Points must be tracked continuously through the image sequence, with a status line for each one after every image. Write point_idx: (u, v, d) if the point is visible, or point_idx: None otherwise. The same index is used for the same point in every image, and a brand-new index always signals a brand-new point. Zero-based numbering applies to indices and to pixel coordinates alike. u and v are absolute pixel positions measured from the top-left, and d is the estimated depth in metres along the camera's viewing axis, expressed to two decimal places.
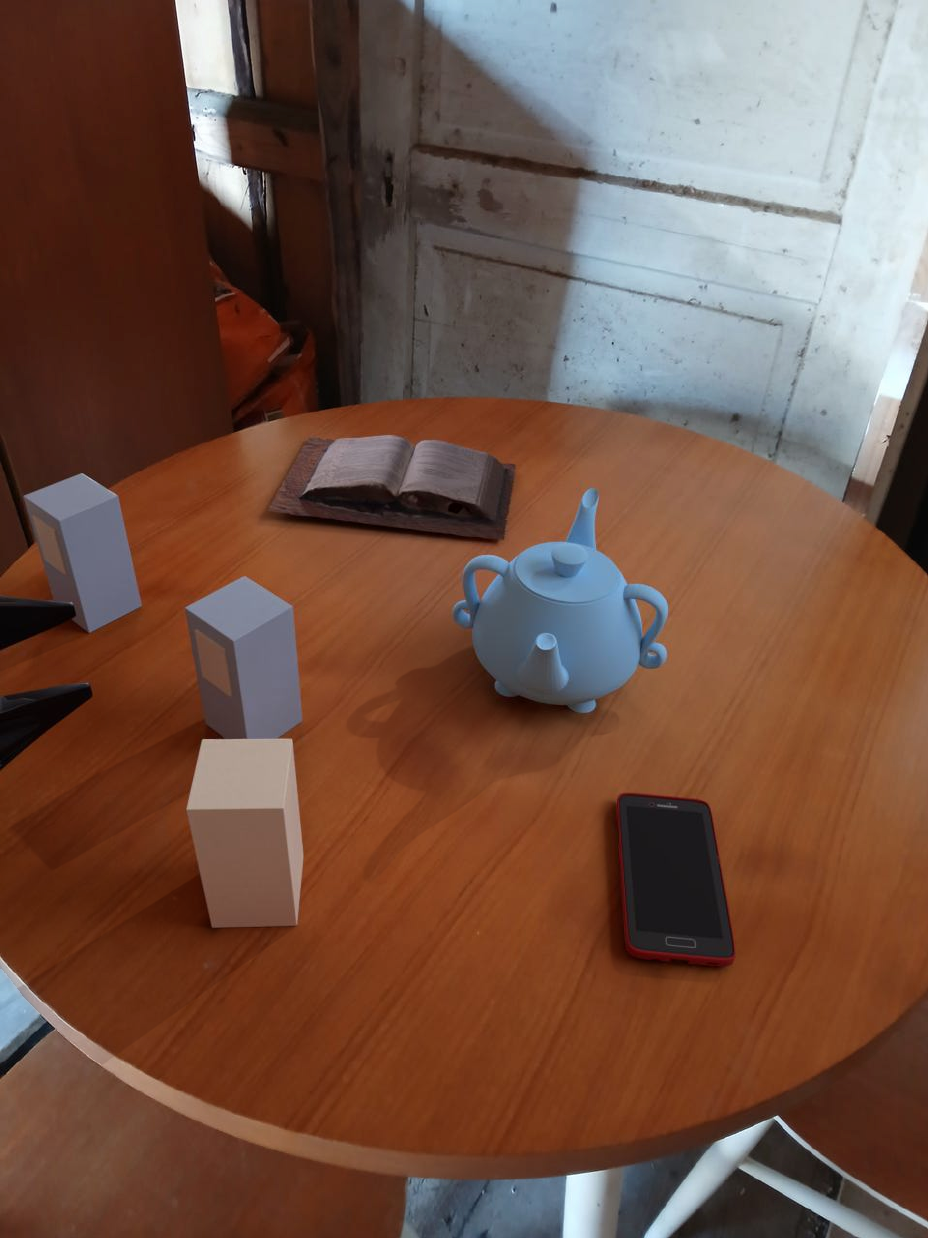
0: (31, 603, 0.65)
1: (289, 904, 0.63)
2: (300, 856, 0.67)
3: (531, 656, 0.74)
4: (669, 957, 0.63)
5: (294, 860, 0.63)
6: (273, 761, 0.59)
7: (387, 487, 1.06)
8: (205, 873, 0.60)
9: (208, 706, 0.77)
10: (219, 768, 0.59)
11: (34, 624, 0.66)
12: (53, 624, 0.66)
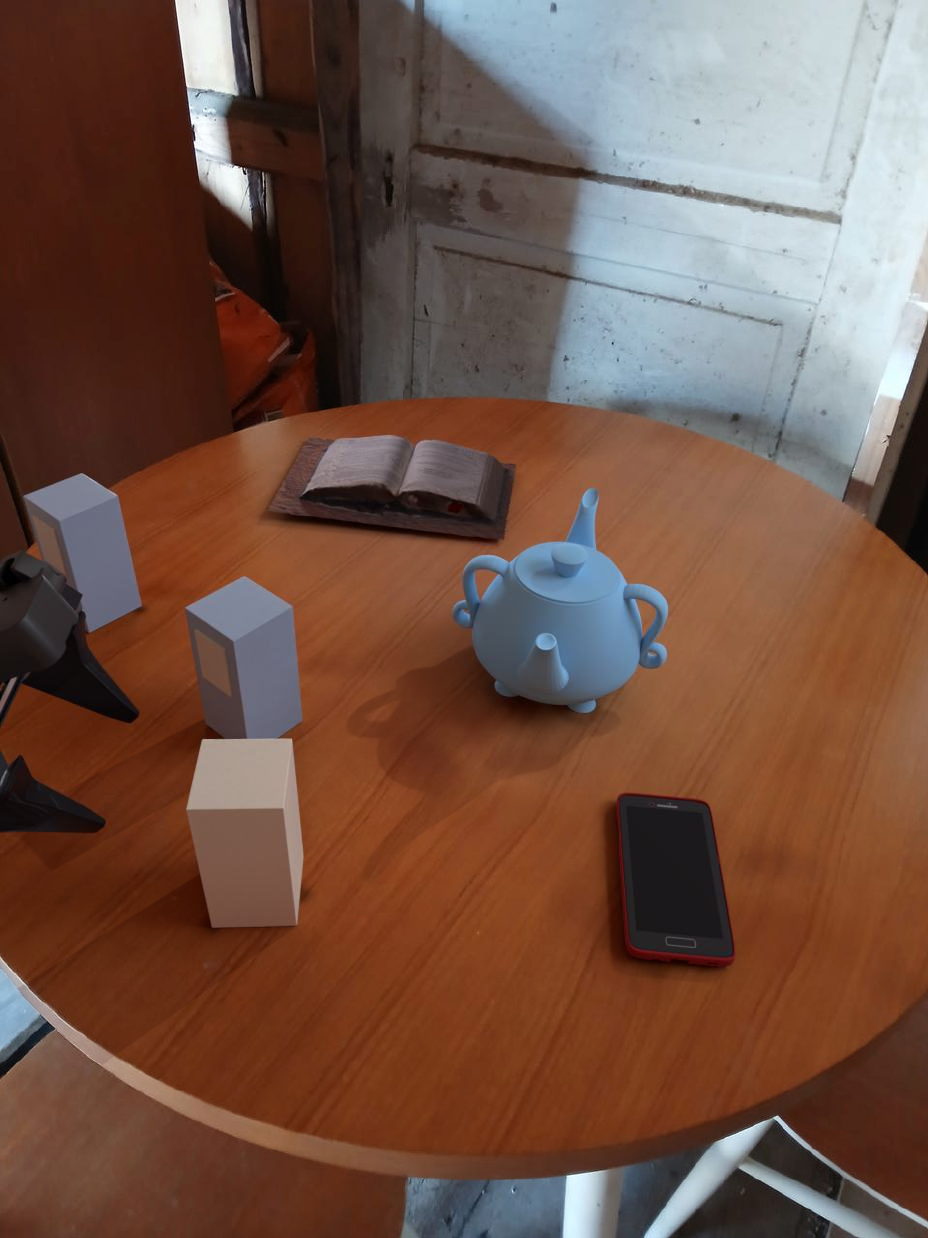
0: (111, 686, 0.60)
1: (289, 904, 0.63)
2: (300, 856, 0.67)
3: (531, 656, 0.74)
4: (669, 957, 0.63)
5: (294, 860, 0.63)
6: (273, 761, 0.59)
7: (387, 487, 1.06)
8: (205, 873, 0.60)
9: (208, 706, 0.77)
10: (219, 768, 0.59)
11: (93, 701, 0.60)
12: (106, 714, 0.61)
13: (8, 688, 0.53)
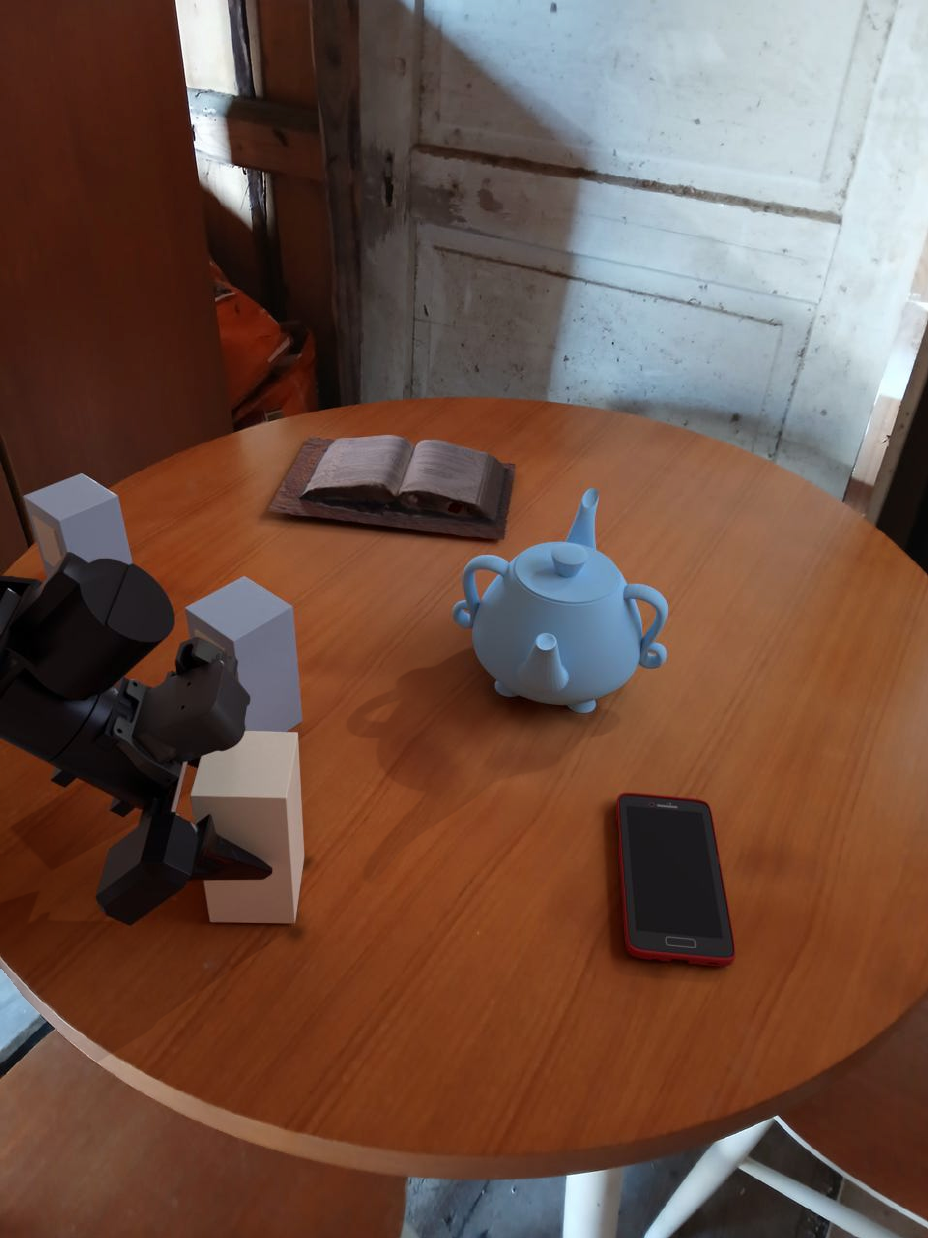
0: None
1: (288, 900, 0.63)
2: (301, 854, 0.67)
3: (531, 656, 0.73)
4: (669, 957, 0.63)
5: (295, 855, 0.63)
6: (278, 753, 0.60)
7: (387, 487, 1.06)
8: None
9: None
10: (224, 758, 0.59)
11: None
12: None
13: None
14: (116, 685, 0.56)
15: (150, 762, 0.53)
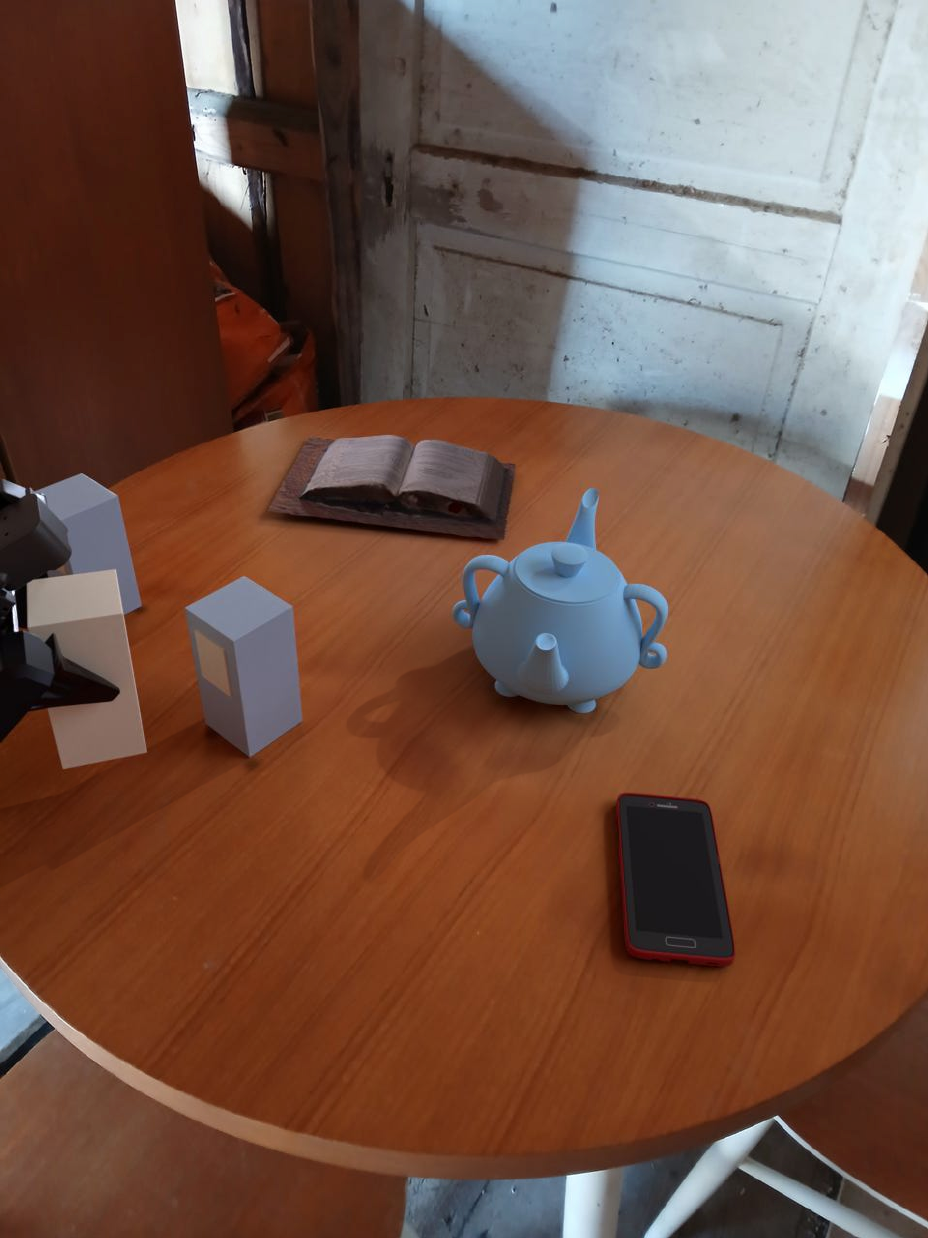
0: None
1: (137, 727, 0.68)
2: None
3: (531, 656, 0.73)
4: (669, 957, 0.63)
5: None
6: (102, 585, 0.64)
7: (387, 487, 1.06)
8: None
9: (208, 706, 0.77)
10: (50, 596, 0.63)
11: None
12: None
13: (12, 591, 0.61)
14: None
15: None
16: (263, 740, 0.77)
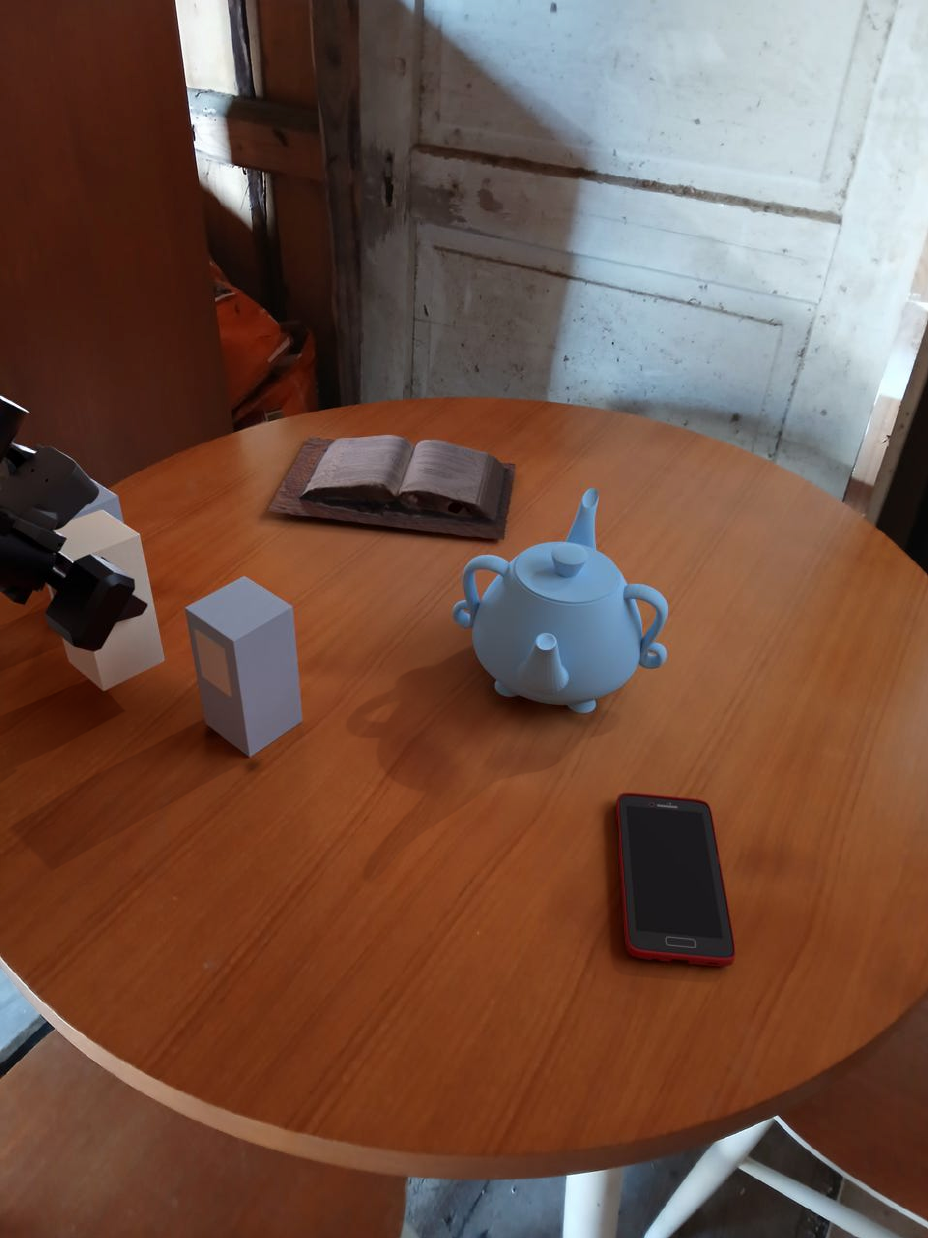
0: None
1: (156, 638, 0.79)
2: None
3: (531, 656, 0.73)
4: (669, 957, 0.63)
5: None
6: (102, 521, 0.75)
7: (387, 487, 1.06)
8: None
9: (208, 706, 0.77)
10: (67, 538, 0.72)
11: None
12: None
13: None
14: None
15: (44, 530, 0.66)
16: (263, 740, 0.77)
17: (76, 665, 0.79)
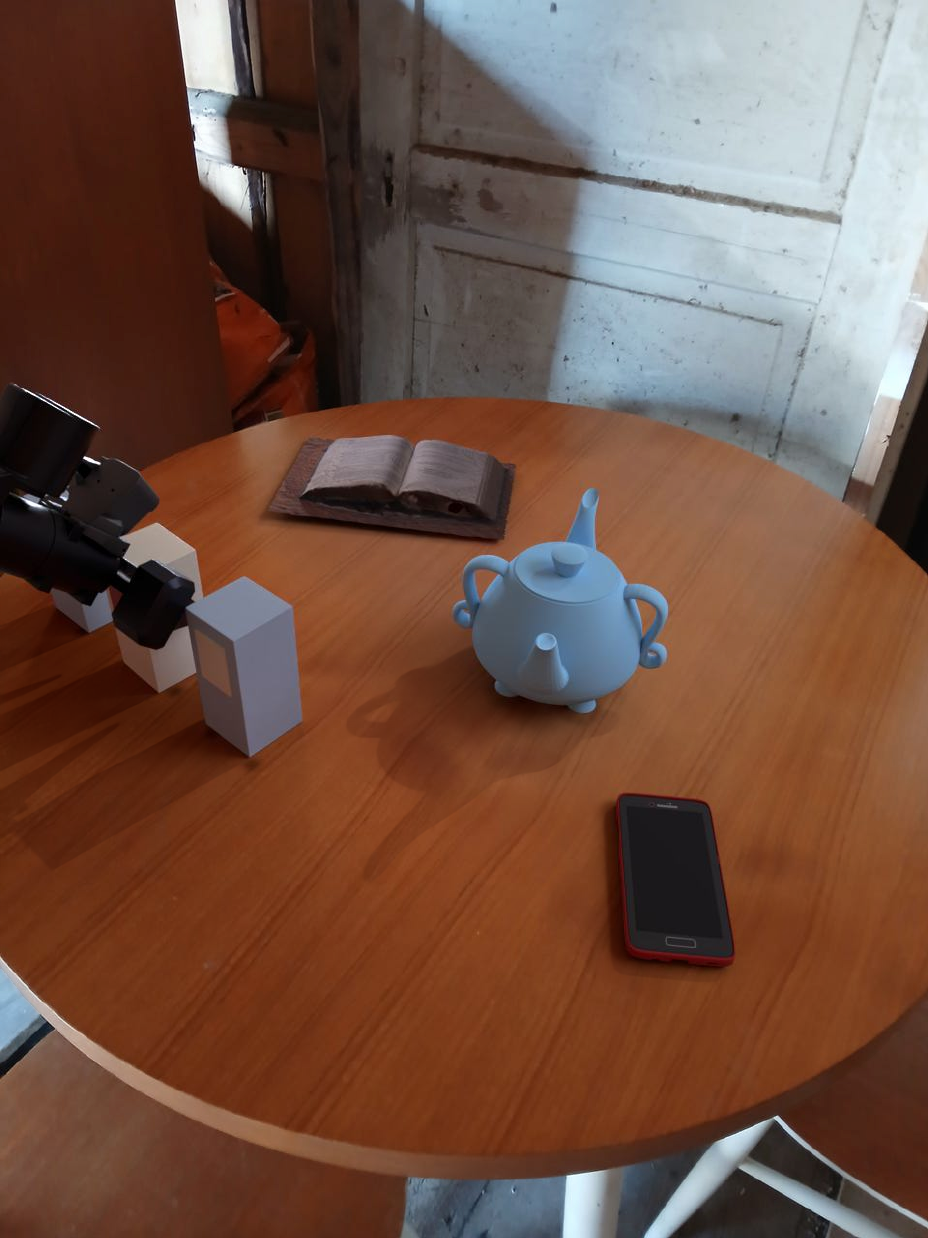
0: None
1: None
2: None
3: (531, 656, 0.73)
4: (669, 957, 0.63)
5: None
6: (159, 535, 0.79)
7: (387, 487, 1.06)
8: None
9: (208, 706, 0.77)
10: (128, 554, 0.77)
11: None
12: None
13: None
14: None
15: (111, 537, 0.71)
16: (263, 740, 0.77)
17: (131, 666, 0.84)
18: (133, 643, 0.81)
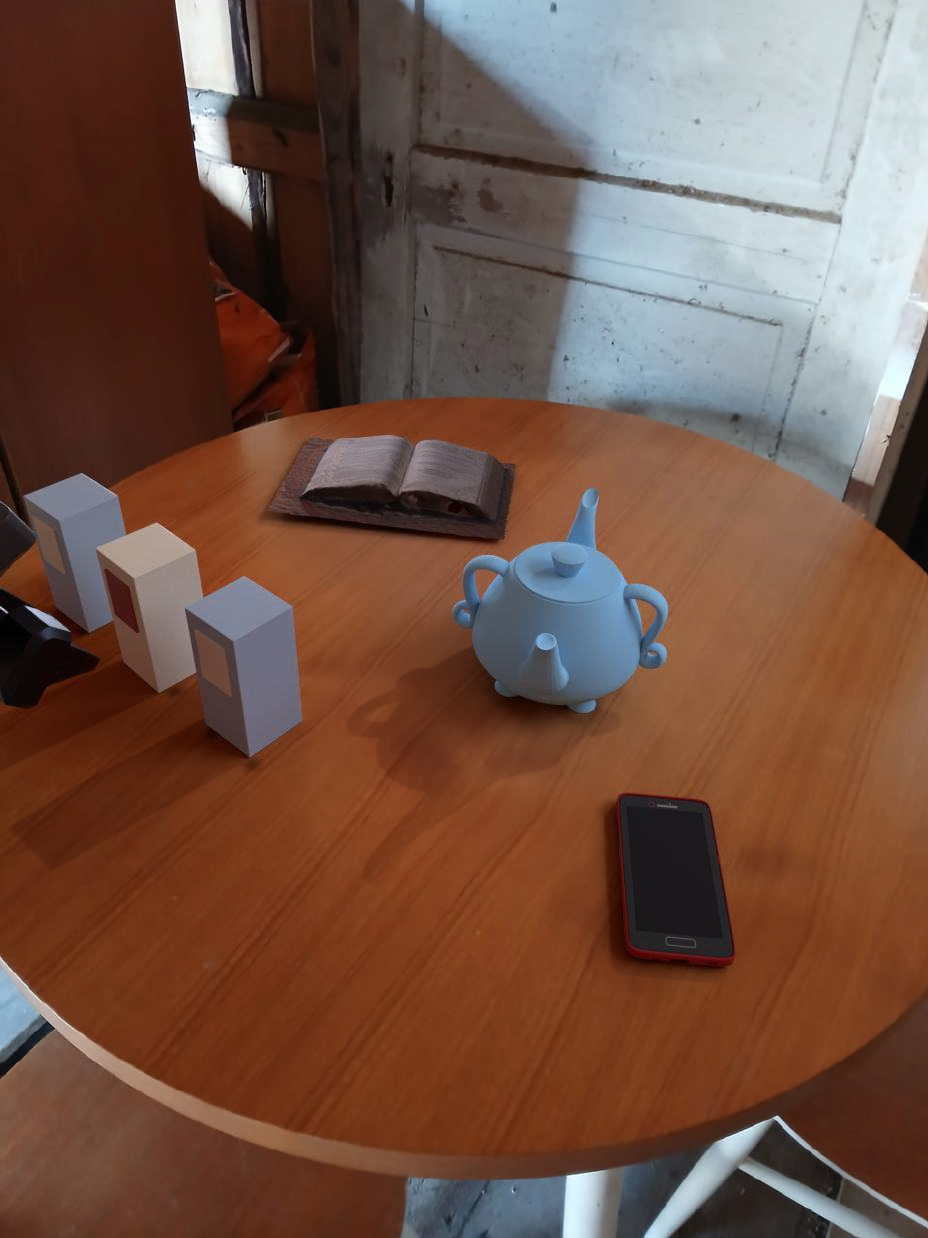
0: (9, 592, 0.74)
1: None
2: None
3: (531, 656, 0.73)
4: (669, 957, 0.63)
5: None
6: (159, 535, 0.79)
7: (387, 487, 1.06)
8: (150, 637, 0.78)
9: (208, 706, 0.77)
10: (128, 553, 0.77)
11: None
12: None
13: None
14: None
15: None
16: (263, 740, 0.77)
17: (131, 666, 0.84)
18: (133, 643, 0.81)
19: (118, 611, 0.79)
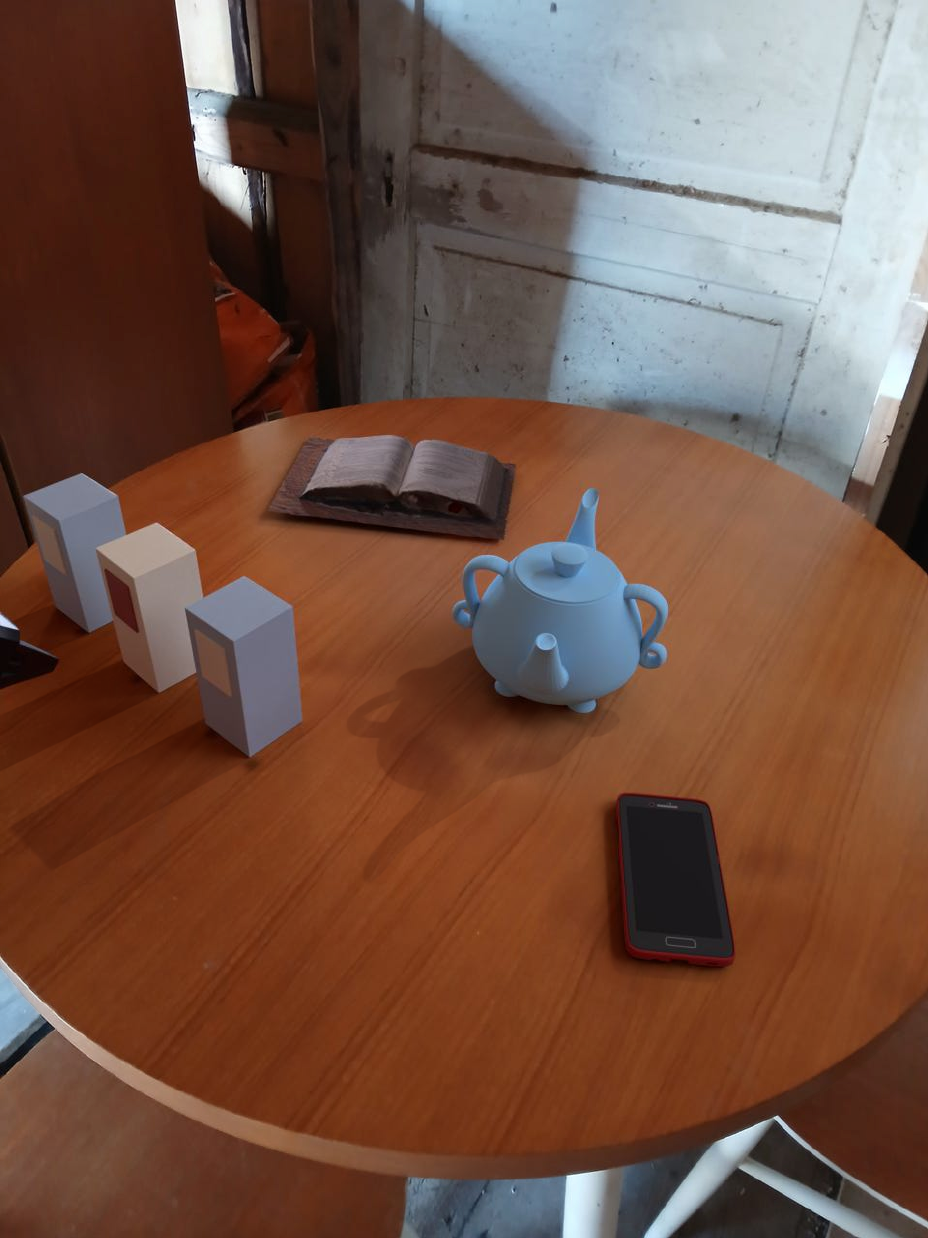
0: None
1: None
2: None
3: (531, 656, 0.73)
4: (669, 957, 0.63)
5: None
6: (159, 535, 0.79)
7: (387, 487, 1.06)
8: (150, 637, 0.78)
9: (208, 706, 0.77)
10: (128, 554, 0.77)
11: None
12: None
13: None
14: None
15: None
16: (263, 740, 0.77)
17: (131, 666, 0.84)
18: (133, 643, 0.81)
19: (118, 611, 0.79)
